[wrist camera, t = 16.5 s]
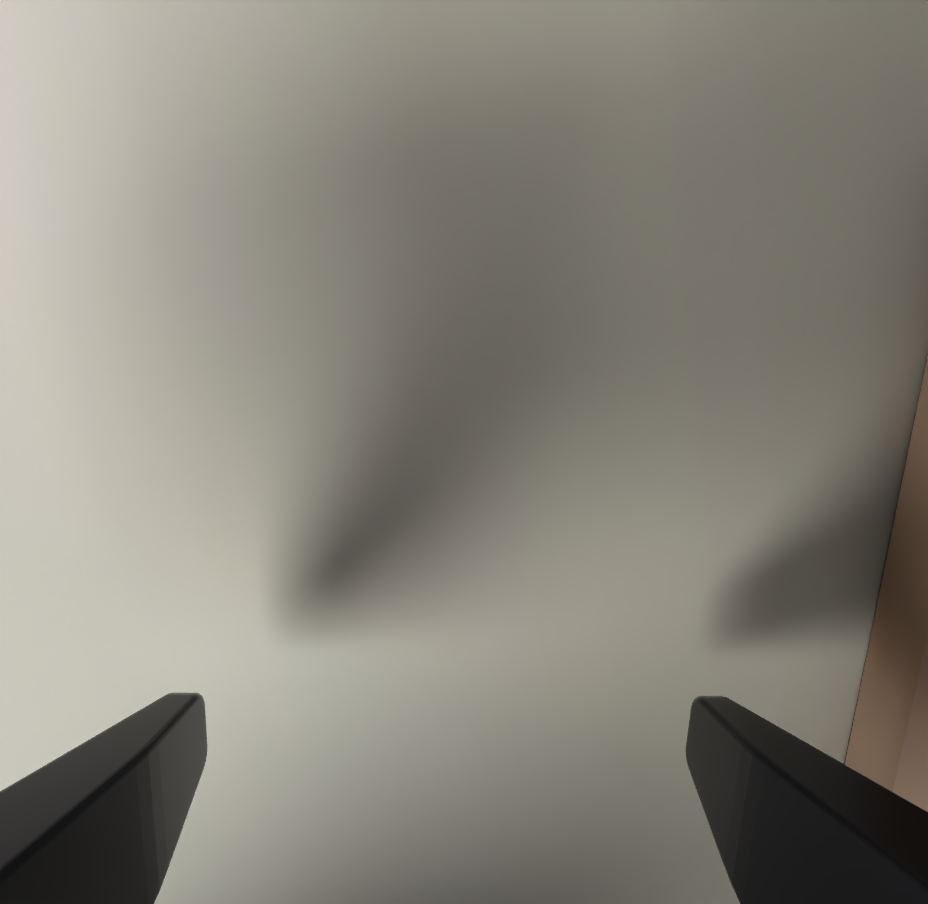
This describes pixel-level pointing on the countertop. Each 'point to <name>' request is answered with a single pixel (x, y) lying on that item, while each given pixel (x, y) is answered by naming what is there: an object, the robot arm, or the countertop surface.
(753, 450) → the countertop surface
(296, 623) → the countertop surface
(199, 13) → the countertop surface
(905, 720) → the walnut board
